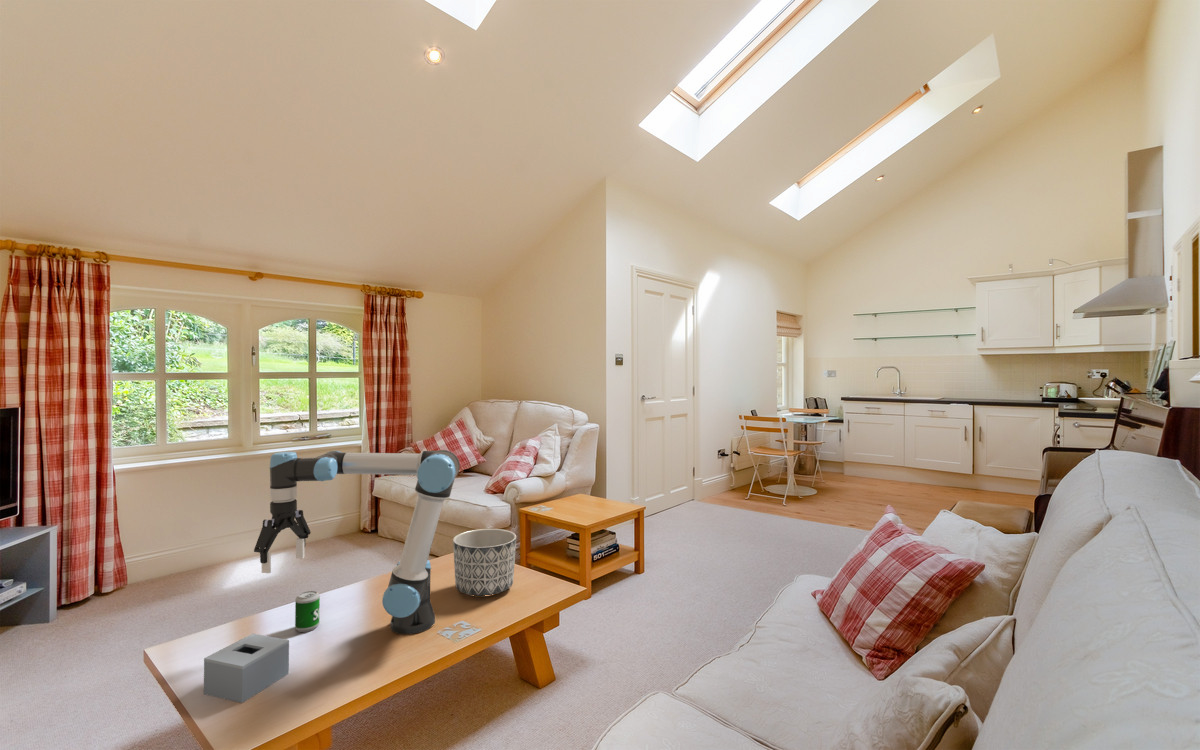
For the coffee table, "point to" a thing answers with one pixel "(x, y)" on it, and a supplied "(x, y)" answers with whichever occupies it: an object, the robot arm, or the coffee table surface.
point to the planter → (484, 561)
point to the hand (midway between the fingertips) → (283, 565)
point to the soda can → (307, 611)
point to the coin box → (246, 667)
